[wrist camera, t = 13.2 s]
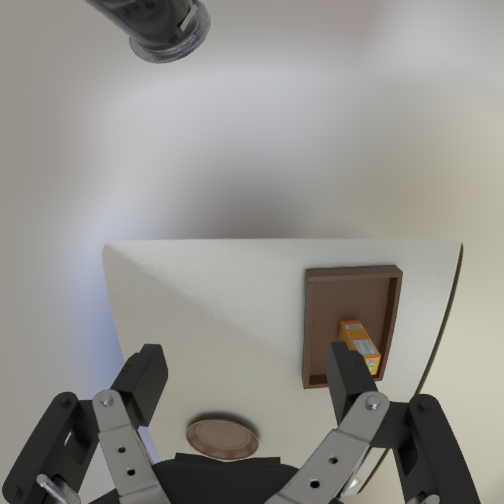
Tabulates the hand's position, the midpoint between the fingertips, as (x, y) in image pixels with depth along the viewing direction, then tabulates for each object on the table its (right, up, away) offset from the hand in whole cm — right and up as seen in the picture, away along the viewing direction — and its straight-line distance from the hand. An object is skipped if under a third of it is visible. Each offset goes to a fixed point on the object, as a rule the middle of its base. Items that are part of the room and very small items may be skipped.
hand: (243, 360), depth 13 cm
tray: (+15, -6, +29) cm, 34 cm away
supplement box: (+15, -7, +29) cm, 33 cm away
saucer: (-5, -32, +38) cm, 50 cm away
